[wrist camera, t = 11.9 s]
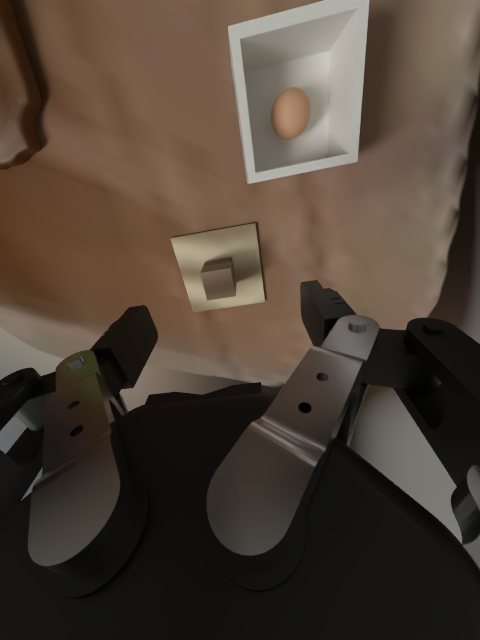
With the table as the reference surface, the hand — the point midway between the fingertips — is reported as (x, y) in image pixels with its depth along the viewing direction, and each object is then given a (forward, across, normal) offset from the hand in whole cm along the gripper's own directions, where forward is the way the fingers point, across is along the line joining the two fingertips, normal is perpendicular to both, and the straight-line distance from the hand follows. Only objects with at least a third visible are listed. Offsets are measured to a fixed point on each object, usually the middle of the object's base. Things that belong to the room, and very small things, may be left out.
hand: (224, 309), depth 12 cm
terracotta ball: (+21, -8, -10) cm, 24 cm away
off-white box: (+23, -8, -10) cm, 27 cm away
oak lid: (+24, +3, +6) cm, 25 cm away
